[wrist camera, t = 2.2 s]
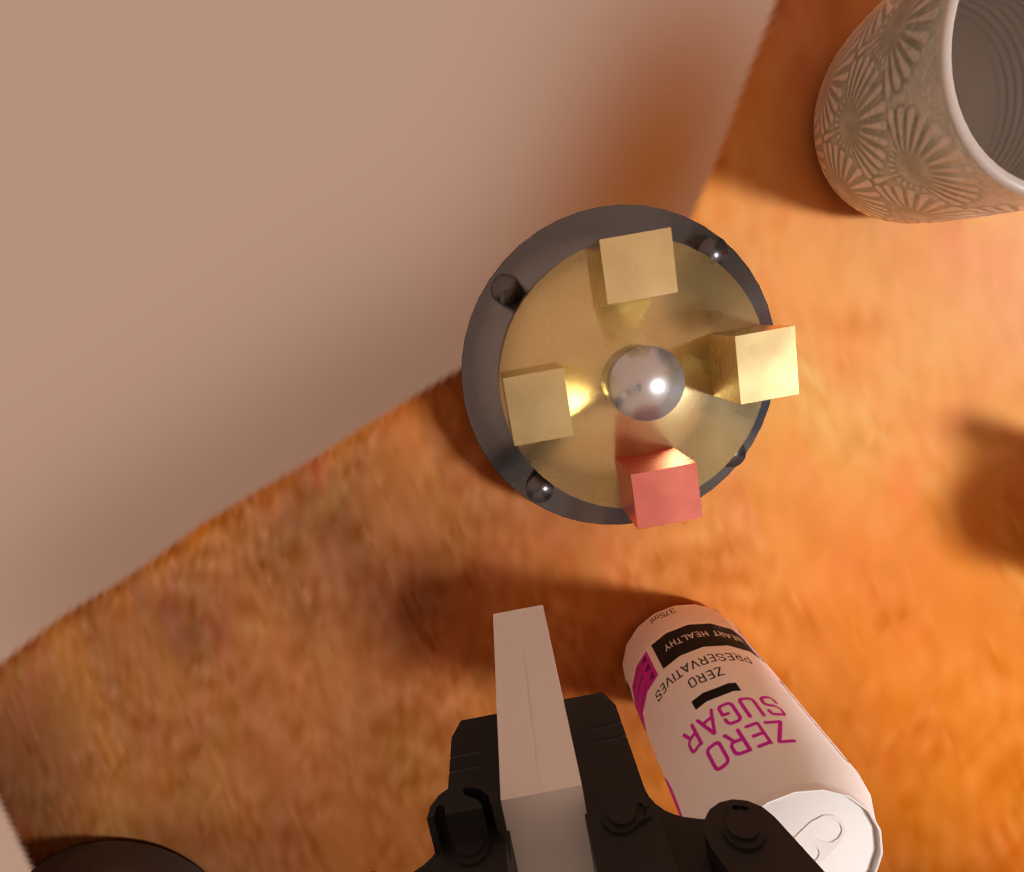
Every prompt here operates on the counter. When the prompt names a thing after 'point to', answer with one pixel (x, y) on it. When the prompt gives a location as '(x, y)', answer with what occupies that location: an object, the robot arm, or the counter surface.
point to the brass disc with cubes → (649, 321)
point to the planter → (927, 111)
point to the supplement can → (744, 737)
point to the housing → (627, 374)
